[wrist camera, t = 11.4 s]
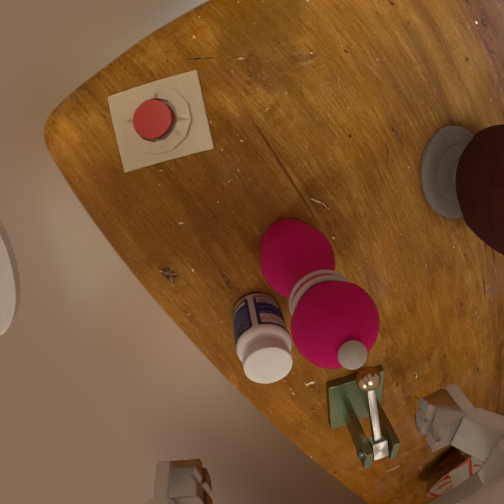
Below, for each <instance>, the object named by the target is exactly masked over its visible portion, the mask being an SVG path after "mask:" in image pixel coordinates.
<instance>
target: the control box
mask: <svg viewBox="0 0 504 504" xmlns="http://www.w3.org/2000/svg"><path fill="white" fill-rule="evenodd" d="M148 100H159V101H161V102H163V103H165V104H167V105H168V106H169V107H170V108H171V109H172V111H173V114H174V123H173V126H172V128H171V130H170V131H169V132H168V133H167V134H166V135H164V136H162V137H160V138H145V137H142V136H141V135H139V134H138V133H137V132H136V130H135V128H134V126H133V116H134V113H135V111H136V109H137V108H138V107H139V106H140V105H141V104H142V103H144V102H146V101H148ZM108 102H109V107H110V112H111V117H112V121H113V126H114V130H115V135H116V139H117V143H118V148H119V152H120V156H121V160H122V164H123V168H124V172H125V173H126V172H129V171H133V170H136V169H139V168H143V167H146V166H150V165H153V164H157V163H160V162H164V161H168V160H171V159H175V158H179V157H183V156H186V155H190V154H194V153H198V152H203V151H207V150H211V149H214V144H213V139H212V135H211V130H210V126H209V121H208V117H207V112H206V108H205V103H204V98H203V94H202V89H201V85H200V80H199V75H198V72H197V70H194V71H190V72H186V73H182V74H178V75H174V76H171V77H167V78H163V79H160V80H157V81H153V82H150V83H147V84H143V85H140V86H137V87H134V88H131V89H128V90H125V91H122V92H119V93H116V94H114V95H111V96H108Z"/></svg>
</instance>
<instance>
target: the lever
mask: <svg viewBox="0 0 504 504" xmlns="http://www.w3.org/2000/svg"><path fill="white" fill-rule="evenodd" d="M355 381H356V385H357V387H358V388H359V389H360V390H361V391H364V392H365V393H366V399H367V405H368V412H369V418H370V425H371V432H372V438H369V439H367V440H368V442H369V444H370V447H371V449H372V451H373V460H374V461H375V460H378V459H381V458H383V457H386V456H388V455H389V453H388V443H387V439H386V438H385V437H384V436H383V435H382V434H381V430H380V422H379V415H378V408H377V401H376V394H375V389H376V388H377V387H378V386H379V384H380V381H381V376H380V373H379V371H378V370H377V369H375V368H373V367H365V368H363V369H361V370H360V371H359V372H358V373H357V375H356V379H355Z"/></svg>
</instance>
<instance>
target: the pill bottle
mask: <svg viewBox="0 0 504 504" xmlns="http://www.w3.org/2000/svg"><path fill="white" fill-rule="evenodd" d="M233 325H234V334H235V343H236V351H237V355H238V357H239V359H240V360H241V362H242V363H243V368H244V372H245V374H246V376H247V377H248V378H249V379H251V380H252V381H254V382H257V383H272V382H276V381H278V380H280V379H282V378H283V377H285V376H286V375H287V374H288V373H289V371H290V370H291V367H292V362H293V361H292V357H291V353H290V352H291V349H292V341H291V337H290V334H289V332H288V329H287V326H286V323H285V321H284V318H283V315H282V312H281V310H280V307H279V305H278V303H277V302H276V301H275V300H274V299H273V298H272V297H270V296H268V295H266V294H261V293H255V294H250V295H247V296H245V297H243V298H242V299H241V300H240V301H239V302H238V303H237V304H236V305H235V307H234V310H233Z"/></svg>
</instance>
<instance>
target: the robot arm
mask: <svg viewBox="0 0 504 504" xmlns="http://www.w3.org/2000/svg"><path fill="white" fill-rule="evenodd" d="M418 406H419V407H420V408H419V409H418V410H417V412H416V415H415V422H416V425H417V428H418V430H419V431H420V433H422V434H425V435H426V440H425V441H426V443H427V444H428V446H429V448H430V449H431V451H432V452H435V451H437V450H439V449H441V448H443V447H445V446H447V445H449V444H450V445H452V446H454V447H456V448H458V449H460V450H461V451H463V452H465V453H467V454H469V455H471V456H473V457H475V458H477V459H479V460H481V461H483V462H485V463H484V464H483V466H482V467H481V468H480V470H479V471H478V476H479V477H480V479H481V481H482V482H483V484H484V486H482V487H481V488H479V489H478V490H476V491H475V492H473V493H472V494H470V495H468V496H467V497H465V498H464V499H462V500H460V501H459V502H457V503H455V504H504V416H503V415H500V414H497V413H493V412H490V411H487V410H484V409H481V408H477V409H476V408H475V407H474V406H473V405H472V403H471V402H470V401H469V400H468V399H467V397H466V396H465V395H464V394H463V393H462V391H461V390H460V389H459V388H458V387H457V385H455V384H450V385H448V386H446V387H444V388H442V389H440V390H438V391H436V392H434V393H432V394H430V395H427V396H425V397H423V398H421V399H420V400H419V403H418ZM211 490H212V487H211V480H210V476H209V473H208V471H207V469H206V468H203V467H202V462H201V461H200V459H190V460H178V461H160V462H158V463H157V465H156V473H155V485H154V497H153V499H149V500H148V502H147V503H146V504H212V499H211V498H210V496H209V495H208V494H209V493H210V491H211Z"/></svg>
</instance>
